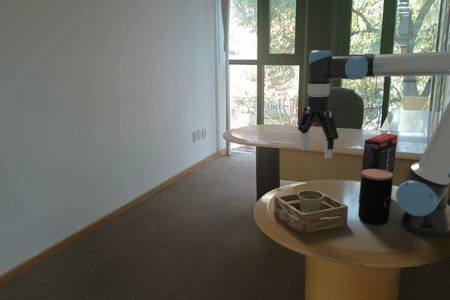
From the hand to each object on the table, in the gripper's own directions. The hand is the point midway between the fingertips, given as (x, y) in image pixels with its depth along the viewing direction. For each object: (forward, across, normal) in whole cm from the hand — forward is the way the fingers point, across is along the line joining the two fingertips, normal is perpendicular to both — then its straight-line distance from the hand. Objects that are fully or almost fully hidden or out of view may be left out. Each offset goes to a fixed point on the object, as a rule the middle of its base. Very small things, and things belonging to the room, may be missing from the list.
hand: (316, 153), depth 145 cm
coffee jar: (+24, -14, -16) cm, 32 cm away
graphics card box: (+24, 0, -31) cm, 39 cm away
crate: (+24, -3, +4) cm, 24 cm away
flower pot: (+23, -3, +4) cm, 24 cm away
